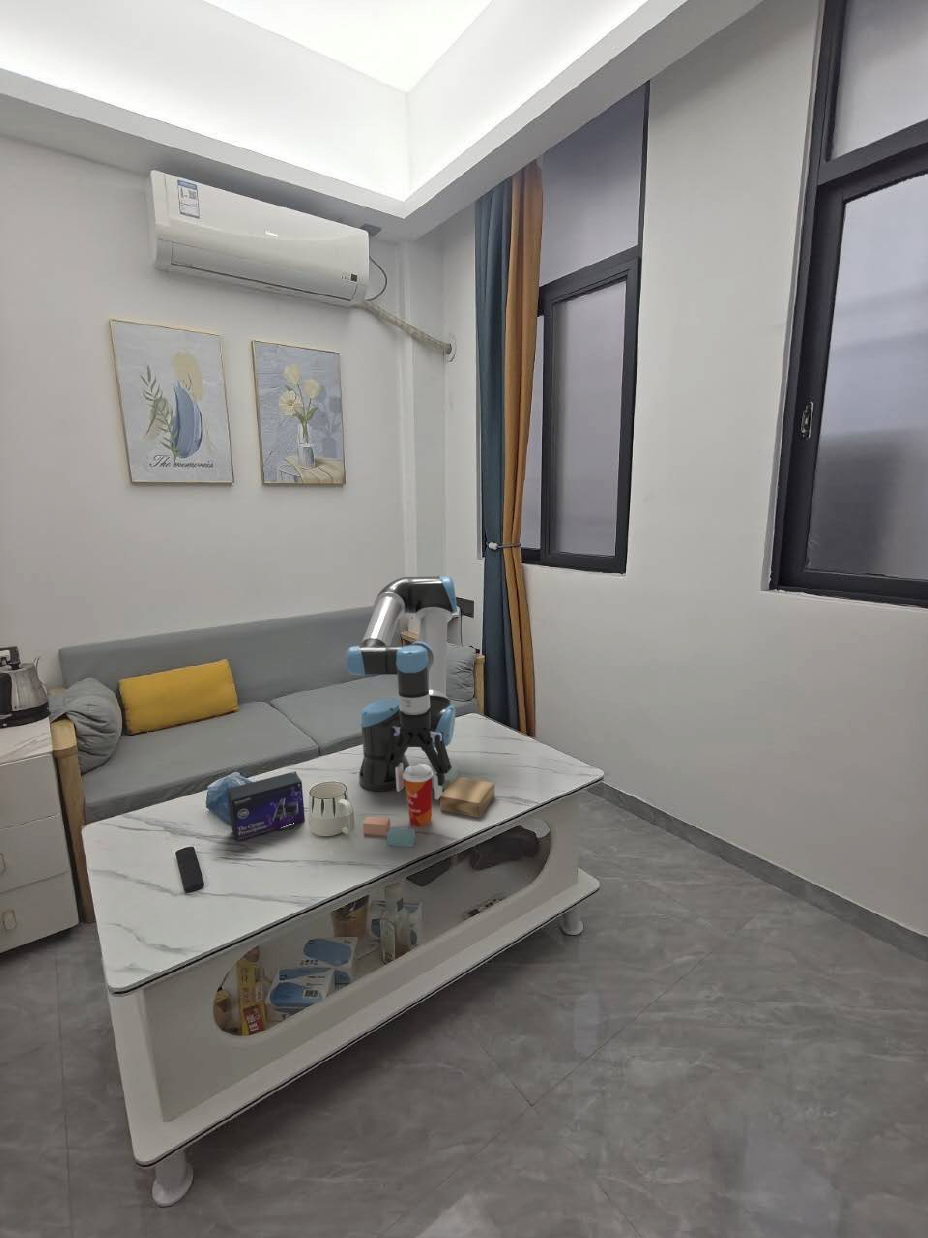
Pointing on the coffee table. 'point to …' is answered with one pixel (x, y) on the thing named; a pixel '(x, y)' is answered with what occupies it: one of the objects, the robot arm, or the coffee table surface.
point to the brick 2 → (401, 837)
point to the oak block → (467, 796)
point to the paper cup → (419, 793)
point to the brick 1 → (376, 826)
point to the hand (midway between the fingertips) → (419, 792)
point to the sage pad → (446, 777)
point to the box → (266, 805)
